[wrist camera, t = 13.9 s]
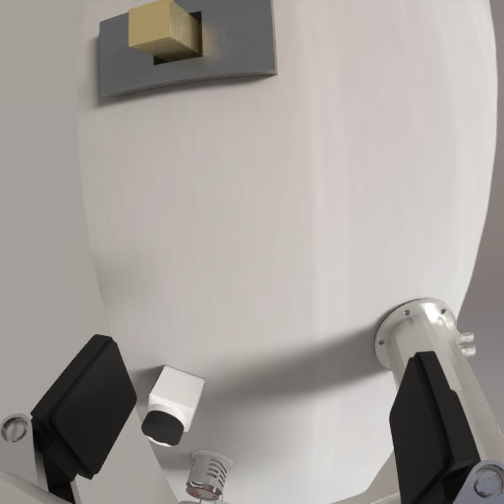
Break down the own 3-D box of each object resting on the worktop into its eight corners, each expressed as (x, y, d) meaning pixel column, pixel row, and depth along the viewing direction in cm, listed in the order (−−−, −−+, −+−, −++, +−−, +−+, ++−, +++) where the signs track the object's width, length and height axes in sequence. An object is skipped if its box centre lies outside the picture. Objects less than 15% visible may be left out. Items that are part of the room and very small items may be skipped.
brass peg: (203, 26, 29) (169, -2, 20) (204, 56, 30) (170, 36, 21) (170, 32, 29) (128, 9, 20) (171, 62, 31) (128, 47, 22)
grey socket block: (272, -4, 26) (269, -14, 24) (277, 74, 30) (275, 70, 27) (112, 26, 29) (99, 22, 27) (113, 97, 33) (100, 96, 31)
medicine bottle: (164, 363, 49) (136, 417, 38) (205, 378, 48) (184, 436, 38) (161, 389, 52) (136, 439, 41) (198, 403, 51) (179, 456, 41)
